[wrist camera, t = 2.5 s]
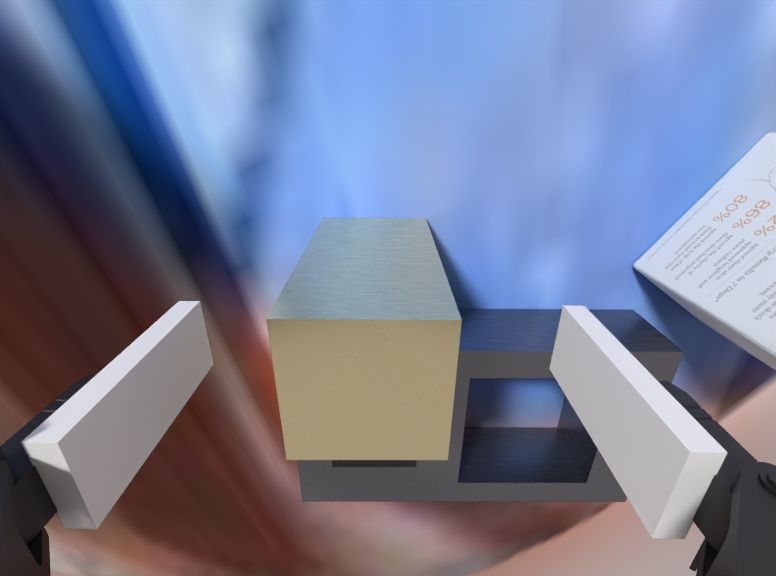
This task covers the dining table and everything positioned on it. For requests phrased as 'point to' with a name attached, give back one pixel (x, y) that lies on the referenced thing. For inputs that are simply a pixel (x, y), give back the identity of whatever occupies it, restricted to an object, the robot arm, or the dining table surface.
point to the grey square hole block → (502, 445)
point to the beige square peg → (366, 344)
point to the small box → (727, 255)
